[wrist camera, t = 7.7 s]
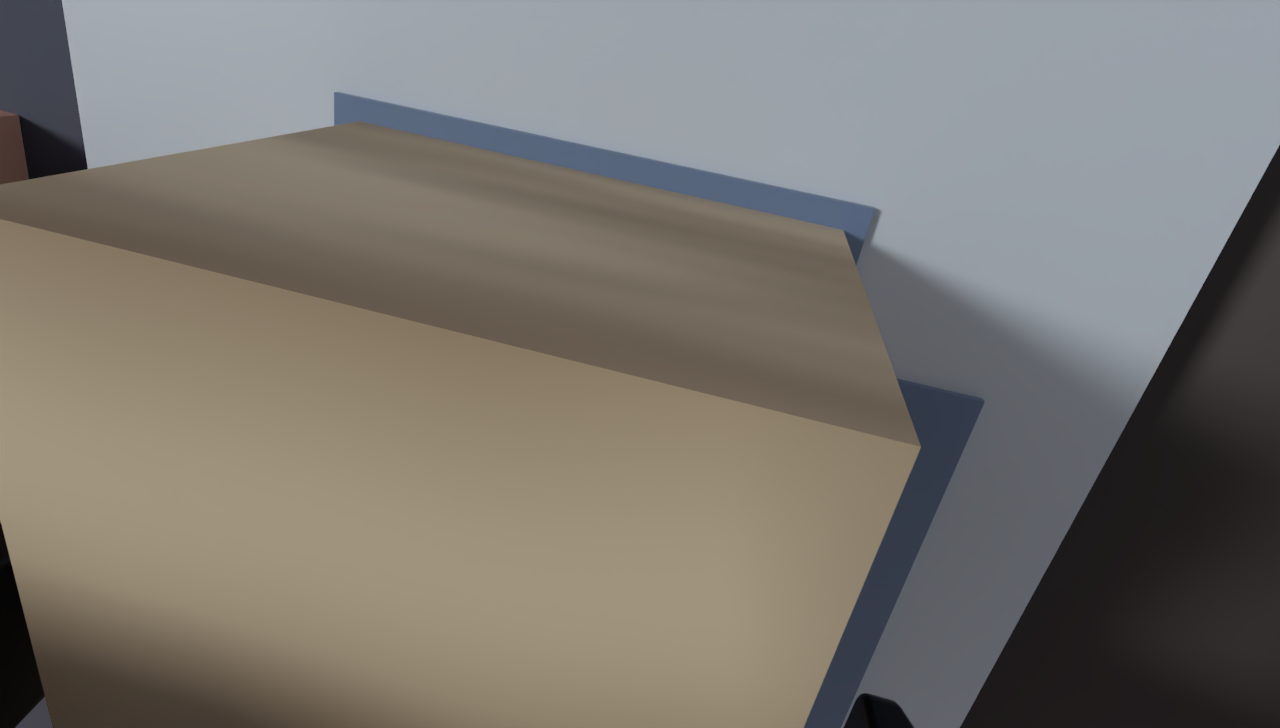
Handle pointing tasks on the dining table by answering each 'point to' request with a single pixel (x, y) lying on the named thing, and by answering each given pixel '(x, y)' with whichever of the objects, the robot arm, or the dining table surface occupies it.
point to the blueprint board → (823, 208)
